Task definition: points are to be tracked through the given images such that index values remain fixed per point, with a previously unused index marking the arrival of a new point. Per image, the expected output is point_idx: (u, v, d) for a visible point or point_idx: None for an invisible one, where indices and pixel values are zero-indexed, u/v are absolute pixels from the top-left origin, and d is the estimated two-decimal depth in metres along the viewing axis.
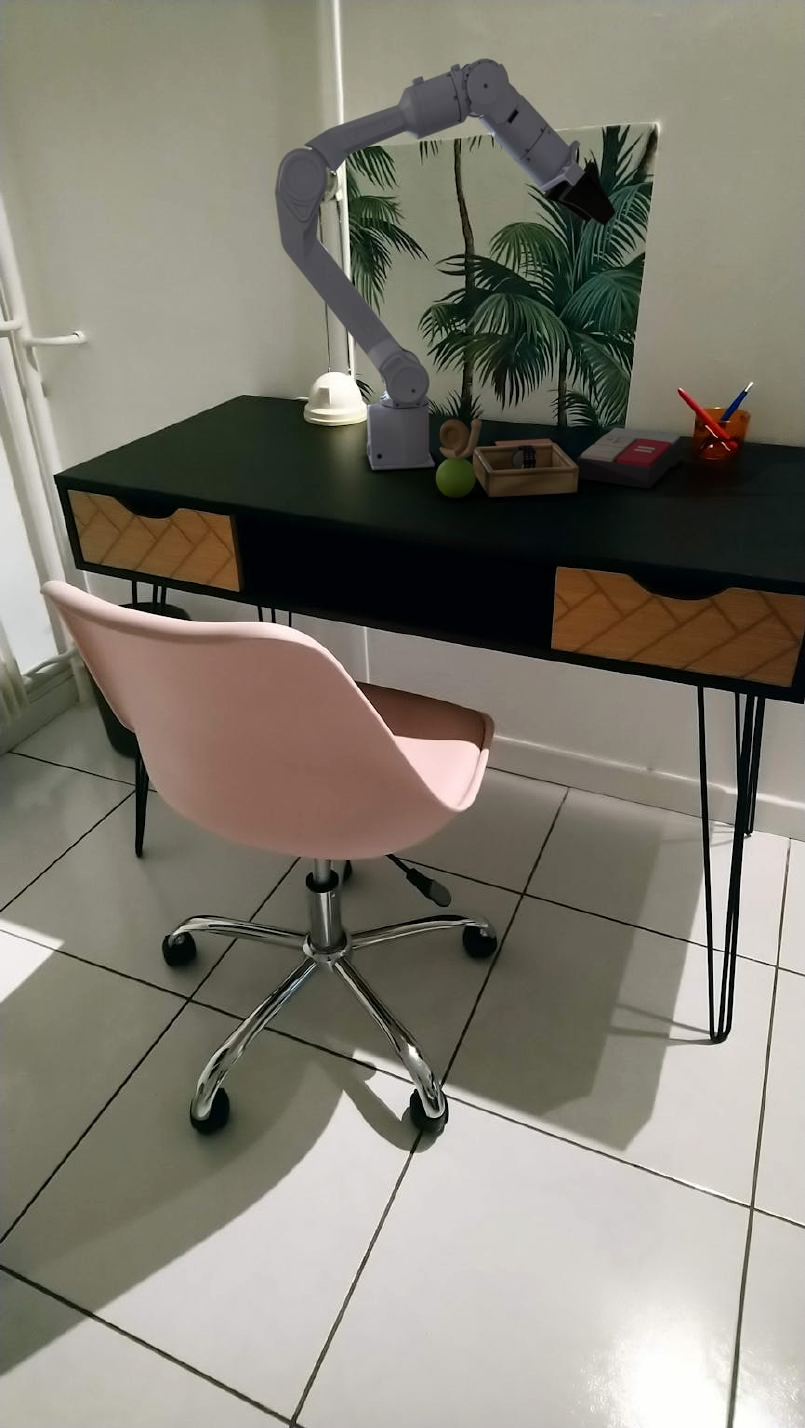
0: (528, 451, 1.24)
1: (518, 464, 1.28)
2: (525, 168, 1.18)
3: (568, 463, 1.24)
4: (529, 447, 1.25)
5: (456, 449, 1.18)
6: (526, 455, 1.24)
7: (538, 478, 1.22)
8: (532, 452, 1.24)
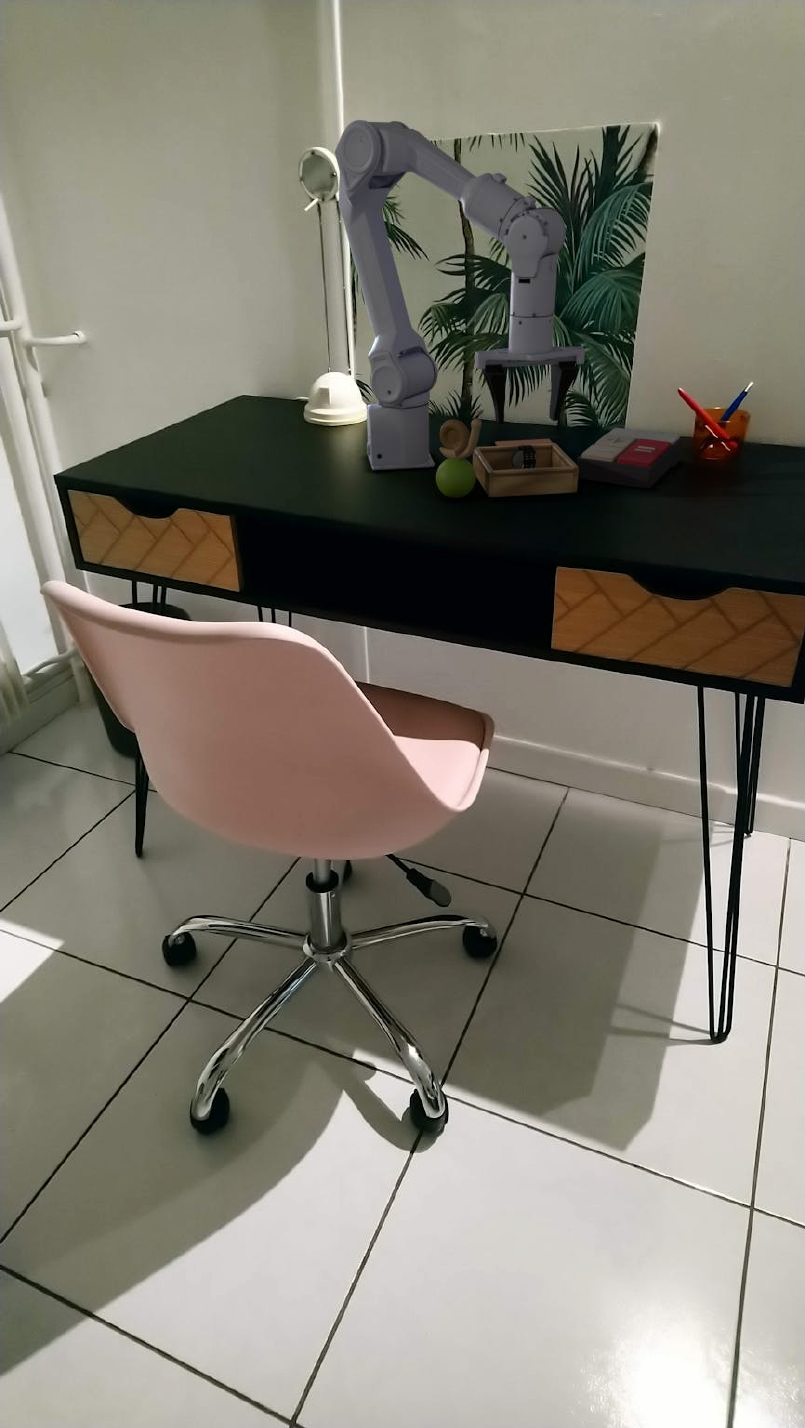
0: (528, 451, 1.24)
1: (518, 464, 1.28)
2: None
3: (568, 463, 1.24)
4: (529, 447, 1.25)
5: (456, 449, 1.18)
6: (526, 455, 1.24)
7: (538, 478, 1.22)
8: (532, 452, 1.24)
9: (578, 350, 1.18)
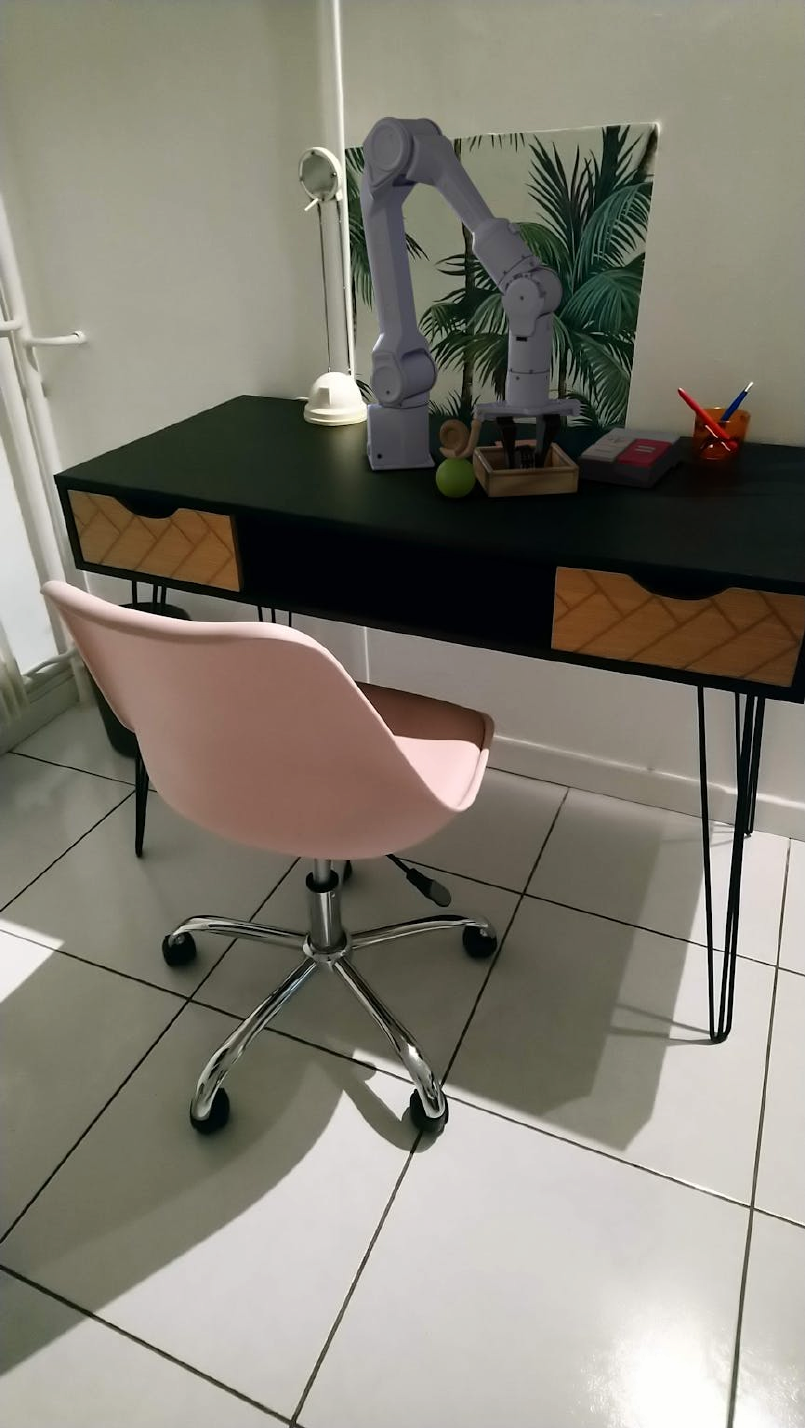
0: (526, 451, 1.24)
1: (517, 464, 1.28)
2: None
3: (568, 463, 1.24)
4: (526, 447, 1.25)
5: (456, 449, 1.18)
6: (524, 455, 1.24)
7: (538, 478, 1.22)
8: (529, 452, 1.24)
9: (574, 403, 1.22)
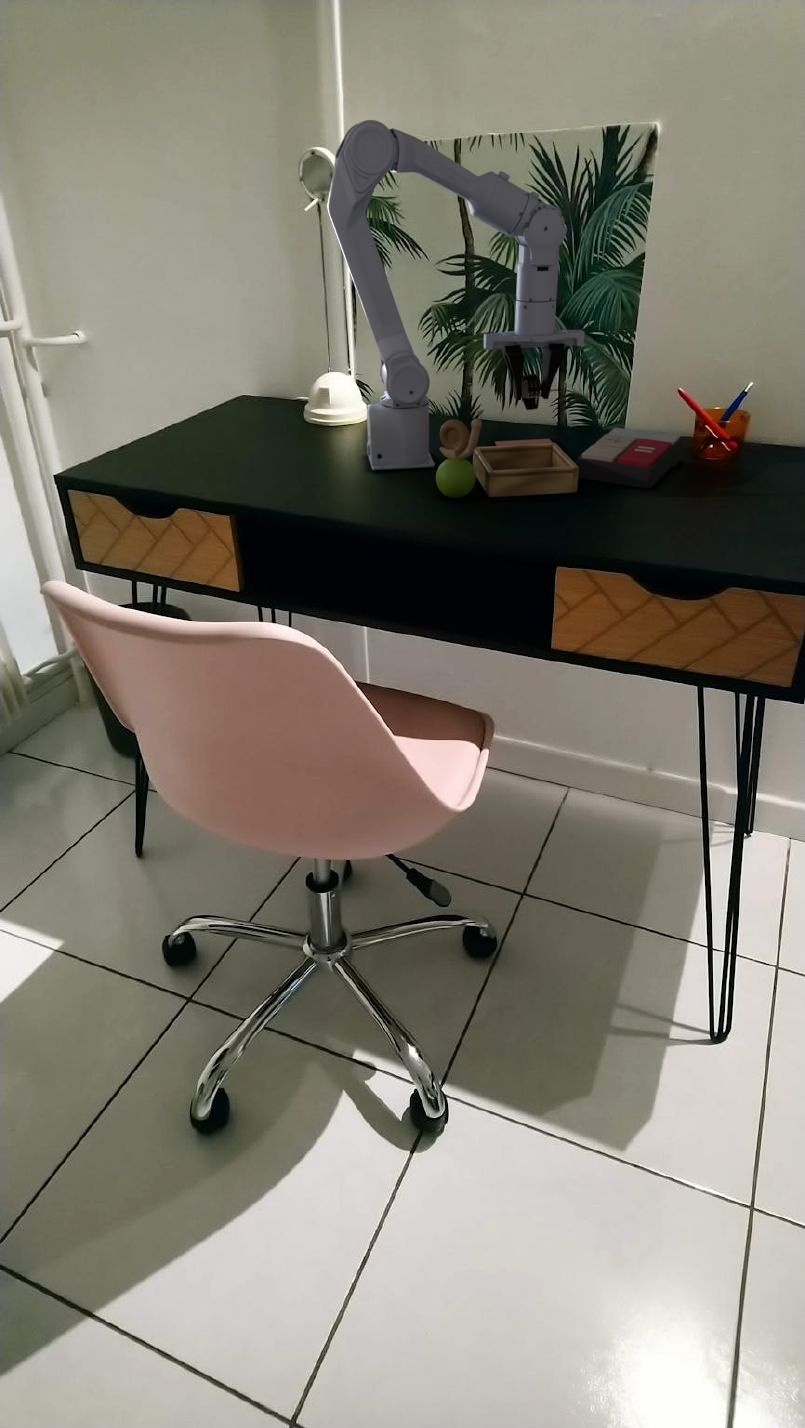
0: (532, 379, 1.32)
1: (524, 393, 1.35)
2: None
3: (568, 463, 1.24)
4: (533, 375, 1.32)
5: (456, 449, 1.18)
6: (531, 383, 1.31)
7: (538, 478, 1.22)
8: (536, 380, 1.32)
9: (578, 333, 1.29)
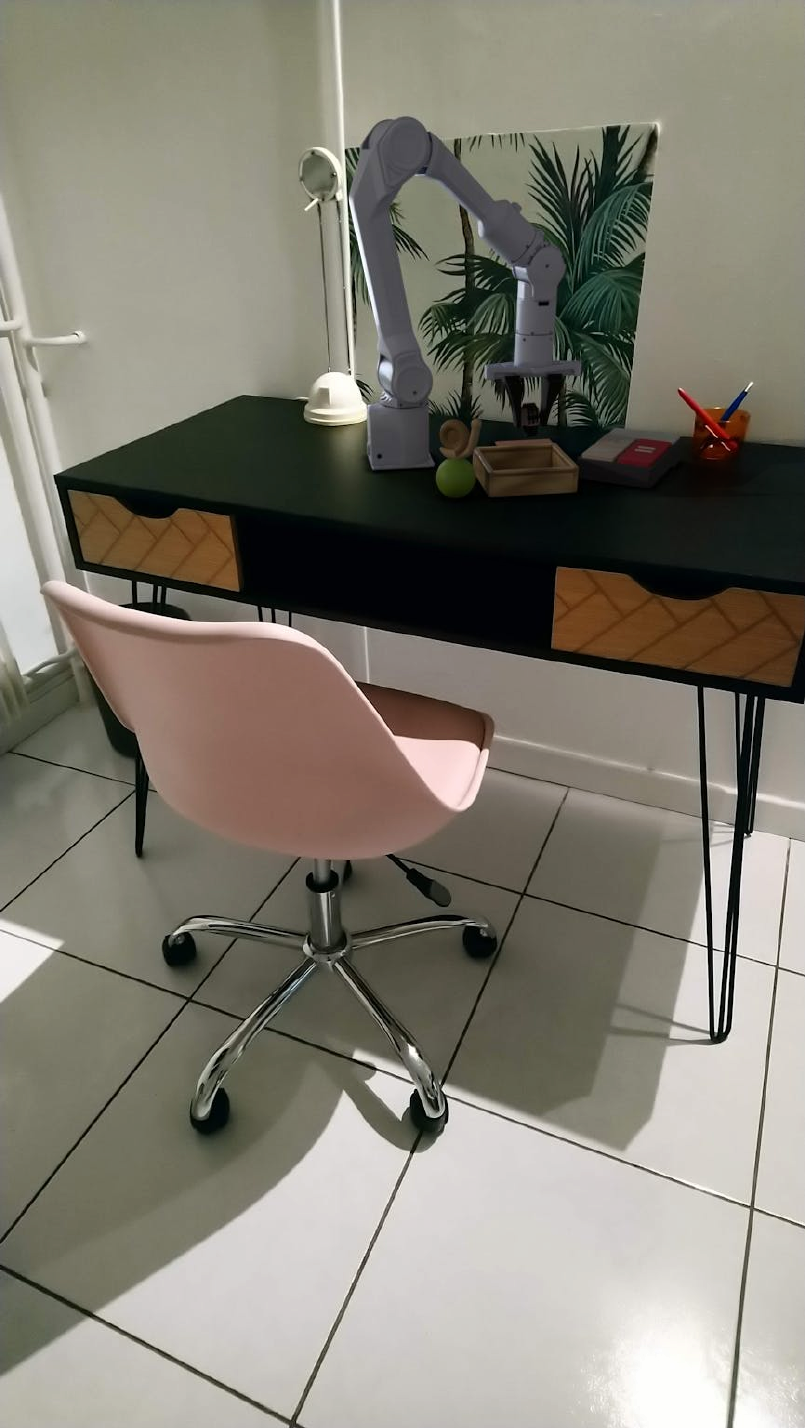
0: (531, 408, 1.37)
1: (523, 421, 1.40)
2: None
3: (568, 463, 1.24)
4: (532, 404, 1.37)
5: (456, 449, 1.18)
6: (530, 411, 1.37)
7: (538, 478, 1.22)
8: (535, 408, 1.37)
9: (575, 364, 1.34)
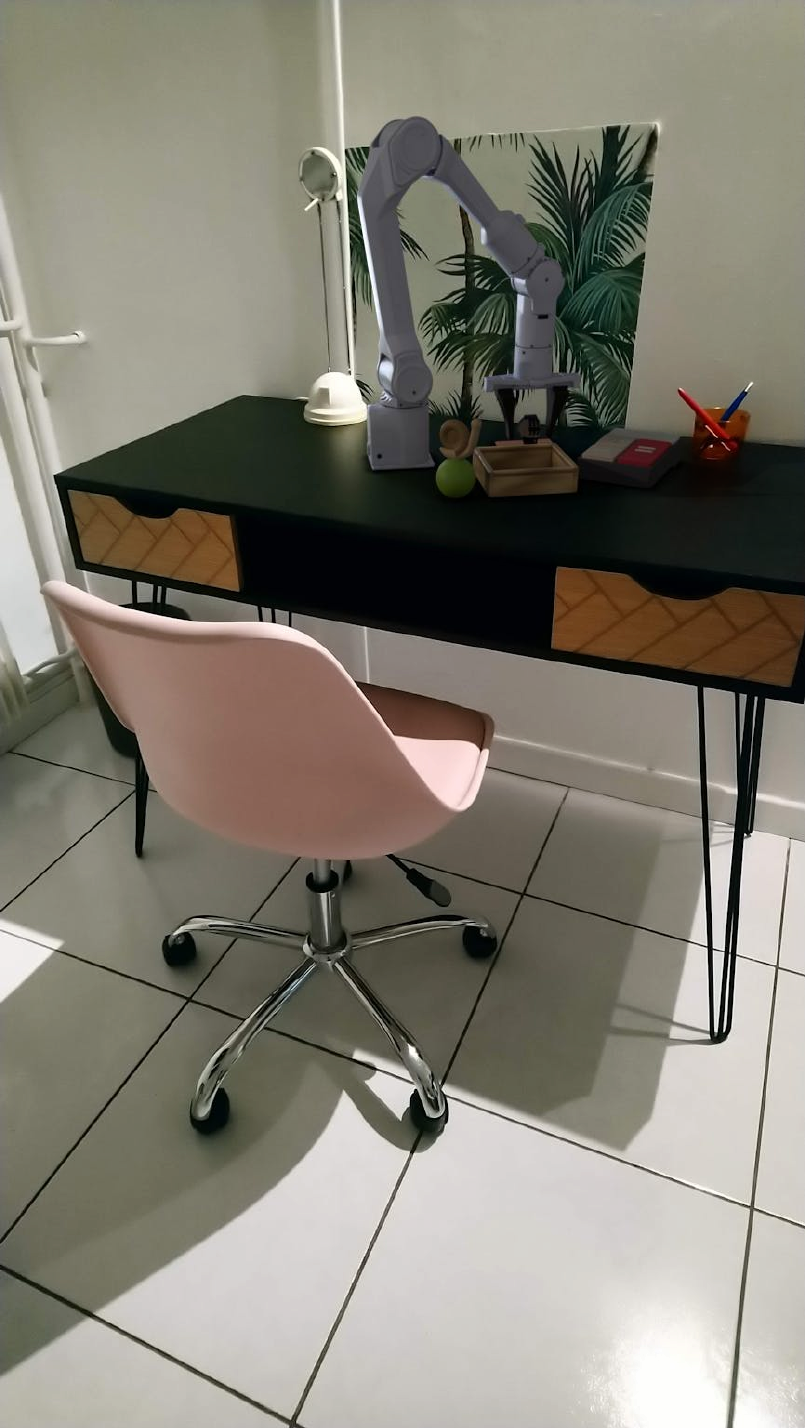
0: (533, 419, 1.38)
1: (524, 432, 1.41)
2: None
3: (568, 463, 1.24)
4: (534, 416, 1.38)
5: (456, 449, 1.18)
6: (531, 423, 1.37)
7: (538, 478, 1.22)
8: (536, 420, 1.38)
9: (574, 376, 1.35)
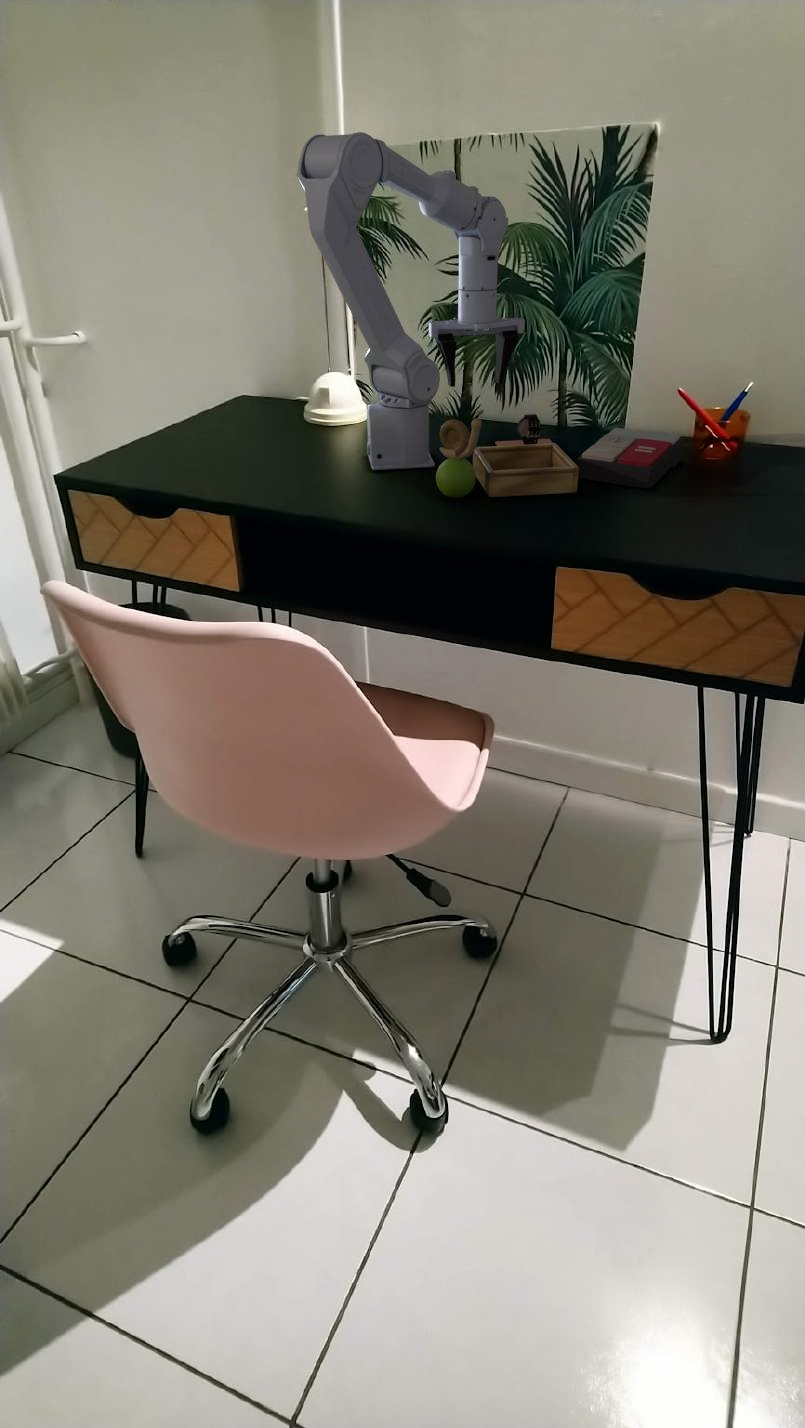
0: (533, 419, 1.38)
1: (524, 432, 1.41)
2: None
3: (568, 463, 1.24)
4: (534, 416, 1.38)
5: (456, 449, 1.18)
6: (531, 423, 1.37)
7: (538, 478, 1.22)
8: (536, 420, 1.38)
9: (519, 320, 1.35)
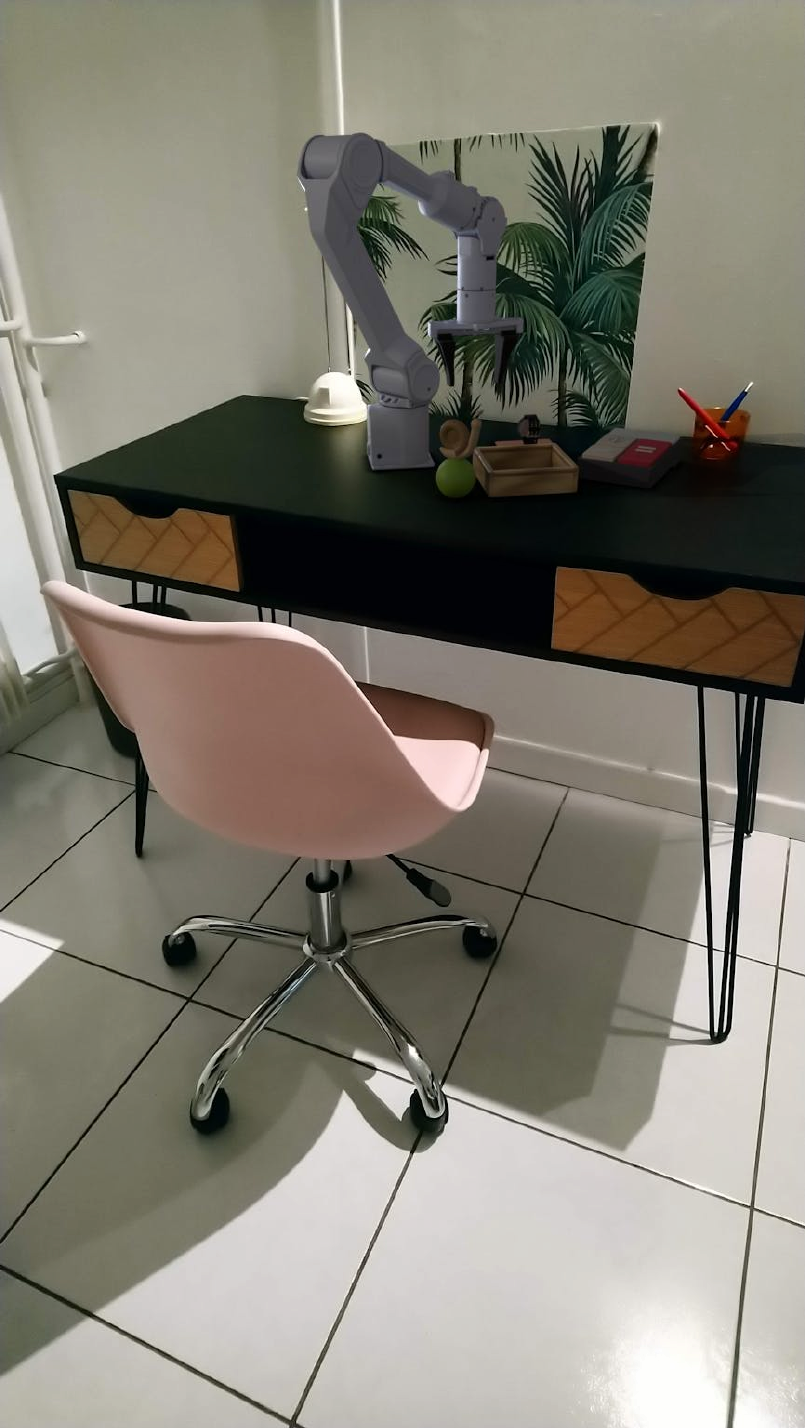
0: (533, 419, 1.38)
1: (524, 432, 1.41)
2: None
3: (568, 463, 1.24)
4: (534, 416, 1.38)
5: (456, 449, 1.18)
6: (531, 423, 1.37)
7: (538, 478, 1.22)
8: (536, 420, 1.38)
9: (517, 320, 1.35)
